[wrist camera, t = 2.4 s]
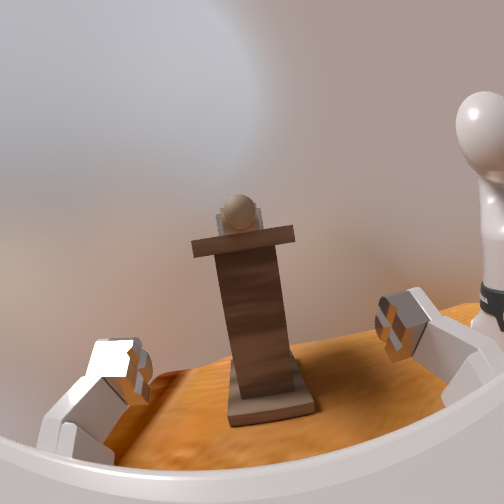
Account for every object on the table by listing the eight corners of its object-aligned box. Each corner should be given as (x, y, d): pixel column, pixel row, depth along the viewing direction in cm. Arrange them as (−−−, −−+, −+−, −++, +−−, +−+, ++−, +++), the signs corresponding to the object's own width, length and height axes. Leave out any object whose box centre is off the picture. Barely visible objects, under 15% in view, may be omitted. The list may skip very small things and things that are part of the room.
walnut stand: (314, 412, 35) (292, 224, 33) (230, 426, 34) (191, 240, 33) (291, 358, 55) (273, 230, 53) (233, 368, 54) (209, 240, 53)
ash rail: (268, 225, 22) (261, 187, 22) (216, 233, 22) (211, 195, 22) (253, 232, 48) (250, 214, 47) (229, 236, 47) (227, 218, 47)
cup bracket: (264, 231, 48) (260, 207, 48) (219, 238, 48) (215, 214, 48) (261, 231, 53) (258, 210, 53) (221, 238, 53) (218, 216, 53)
